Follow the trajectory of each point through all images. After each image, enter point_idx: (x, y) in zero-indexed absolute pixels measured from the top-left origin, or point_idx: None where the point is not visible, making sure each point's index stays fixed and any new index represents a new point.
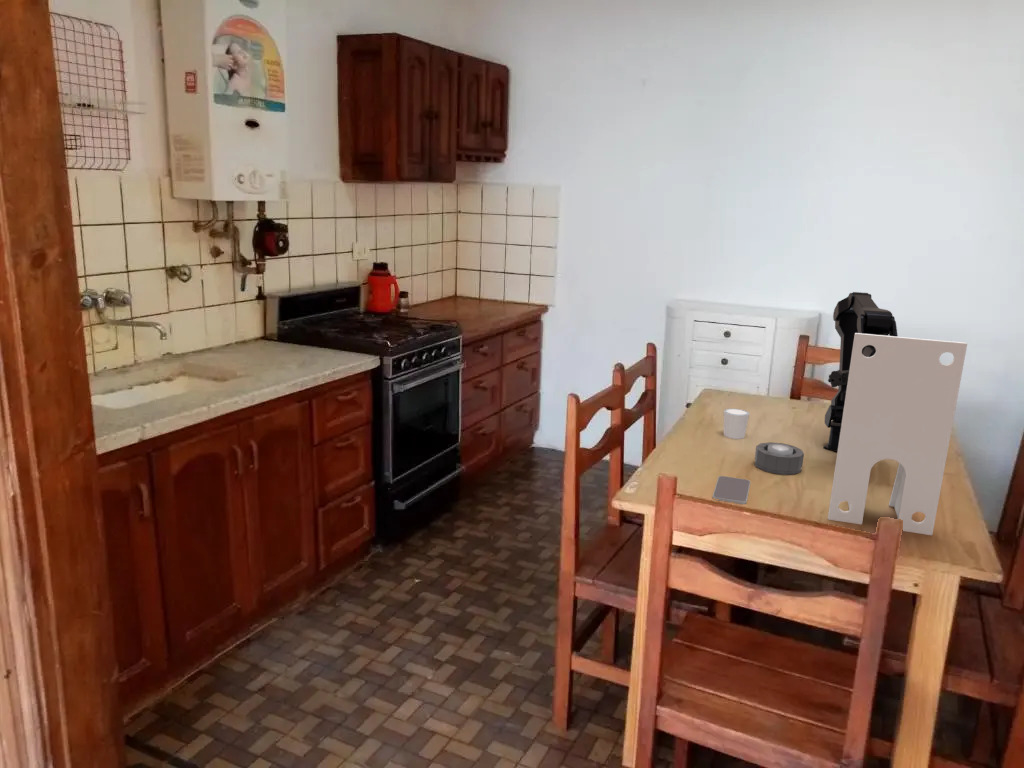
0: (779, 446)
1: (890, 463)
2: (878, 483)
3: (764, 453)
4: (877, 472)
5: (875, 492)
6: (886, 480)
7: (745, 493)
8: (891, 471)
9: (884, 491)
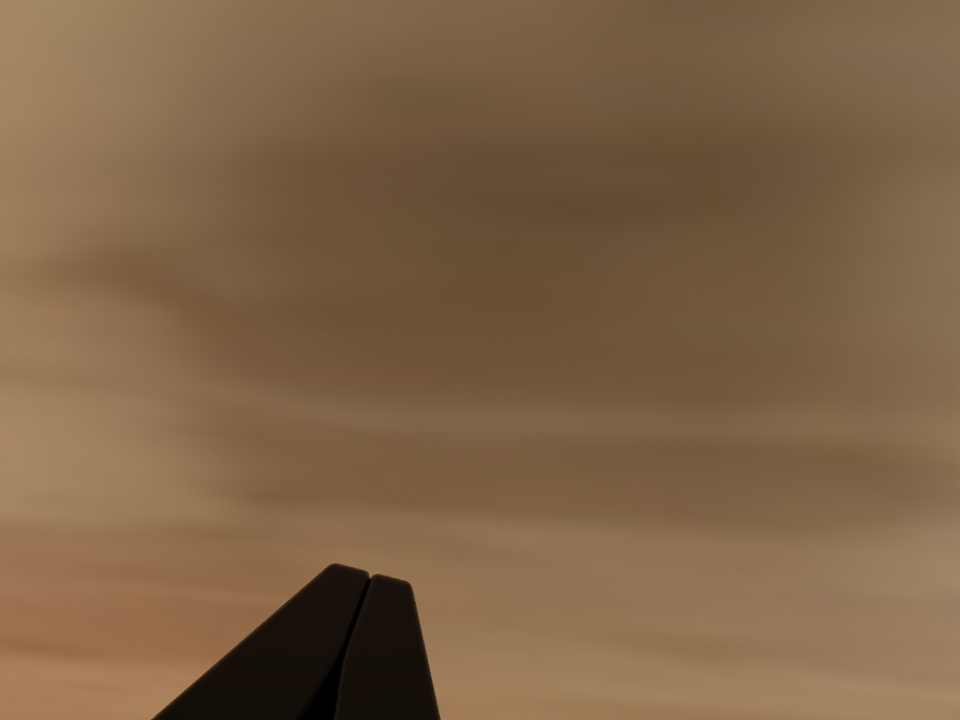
0: None
1: (928, 548)
2: (249, 429)
3: None
4: (567, 433)
5: (2, 400)
6: (376, 490)
7: None
8: (666, 540)
9: (82, 463)
